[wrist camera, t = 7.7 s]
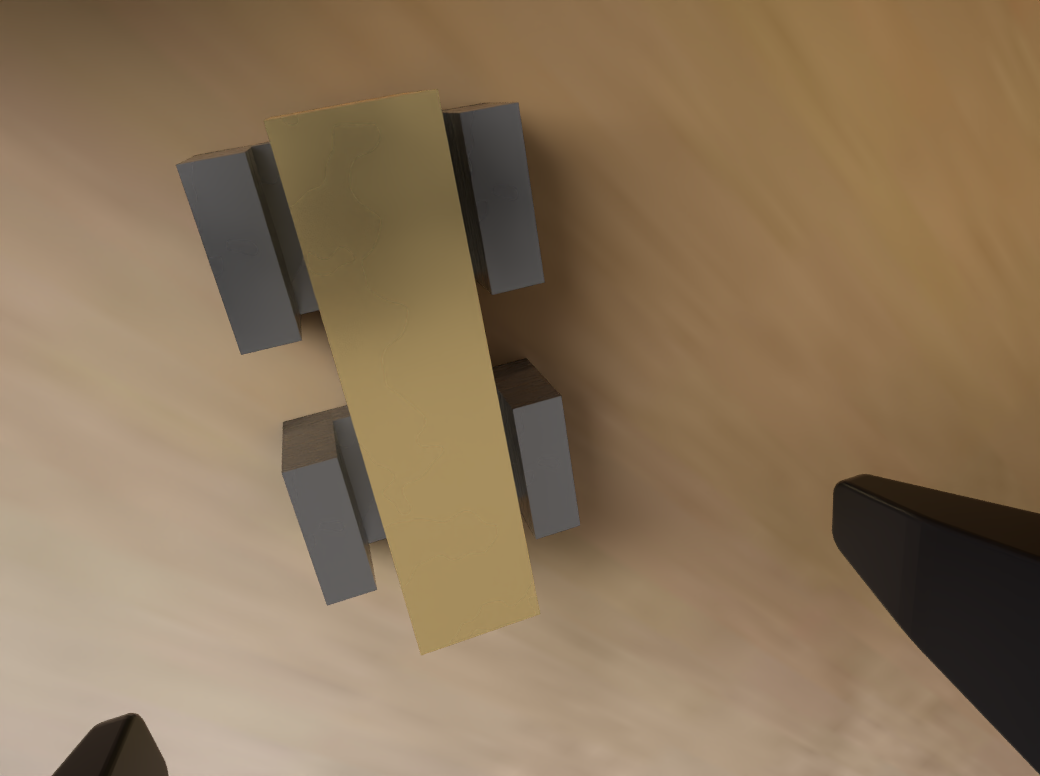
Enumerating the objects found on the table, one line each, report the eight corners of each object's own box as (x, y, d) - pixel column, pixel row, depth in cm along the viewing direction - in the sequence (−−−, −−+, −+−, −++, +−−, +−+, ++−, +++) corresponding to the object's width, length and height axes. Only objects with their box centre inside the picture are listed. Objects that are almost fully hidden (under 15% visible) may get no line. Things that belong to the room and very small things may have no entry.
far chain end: (545, 475, 22) (580, 525, 20) (322, 541, 21) (327, 605, 18) (526, 358, 21) (561, 395, 18) (283, 421, 19) (281, 472, 17)
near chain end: (509, 258, 19) (544, 282, 17) (248, 317, 18) (241, 355, 15) (484, 102, 18) (518, 102, 15) (195, 155, 16) (175, 165, 14)
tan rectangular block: (493, 518, 21) (540, 613, 17) (396, 549, 21) (420, 655, 17) (401, 93, 16) (437, 89, 12) (270, 117, 16) (263, 120, 12)
